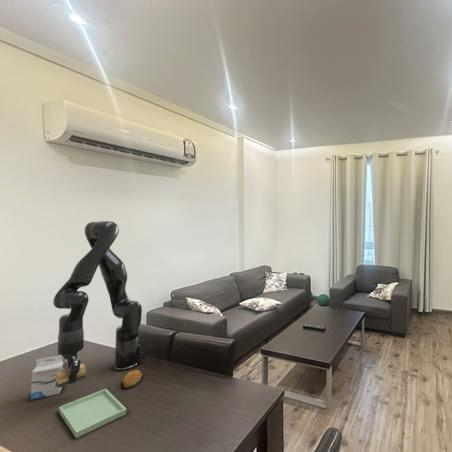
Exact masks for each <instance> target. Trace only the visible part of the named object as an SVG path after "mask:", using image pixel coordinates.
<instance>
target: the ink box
mask: <svg viewBox="0 0 452 452" xmlns="http://www.w3.org/2000/svg"><path fill="white" fill-rule="evenodd" d="M61 370H64V368H63V359H62V355H60V354H59V355H53V356H47V357H42V358H37V359H36V366H35V367H34V369H33V370H32V371H31V384H30V385H31V387H30V400H31V401H32V400H33V401H34V400H38V399H41V398H46V397H50V396H51V397H52V396H55V395H59V394H61V391H62V390H63V387H60V388H58V386H57V385H56V372H58V371H61Z"/></svg>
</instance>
